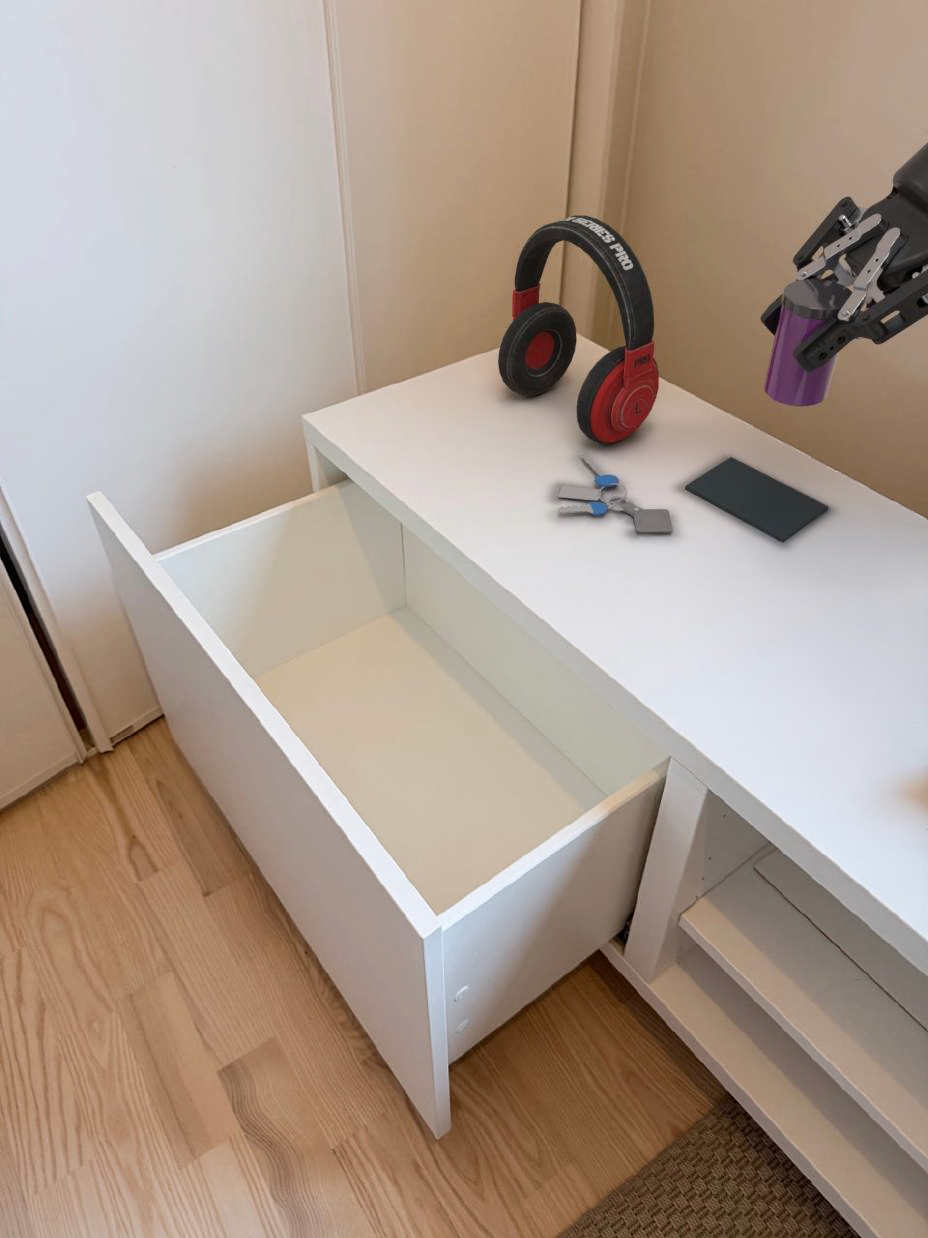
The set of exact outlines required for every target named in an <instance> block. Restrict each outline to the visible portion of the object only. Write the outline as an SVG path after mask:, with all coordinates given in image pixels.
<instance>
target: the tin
mask: <svg viewBox="0 0 928 1238" xmlns="http://www.w3.org/2000/svg"><path fill="white" fill-rule="evenodd" d="M782 293H783V295H782V306H781V311H780V315H779V320H778V324H777V329H776V334H775V336H774V337H773V338H774V339H773V342H772V347H771V352H770V357H769V362H768V366H767V370H766V375H765V380H764V385H763V390H764V392H765V394H766V395H767V397H769V398H770V399H772V400H773V401H775V402H776V403H777V402H778V403H780V404H782V405H787V406H791V407H811V406H815V405H818V404H820V403H822V402H823V401H824V400H825V399H826V398H827V396H828V393H829V389H830V386H831V382H832V378H833V375H834V371H835V367H836V364H837V360H838V356H839V352H838V353H837V354H836V355H834V356H833V357H832V358H831V359H829V361H828V362H827V363H825V364H824V365H823V366H821V367H819V368H817V369H815V370H814V371H811V372H807V371H806V370H805V369H804V368H803V367H802V366H801V365H800V364H799V363H798V362H797V360H796V359H795V358H794V357H793V351H794V350H795V349H796V348H797V347H798V346H799V345H800V344H801V343H802V342H803V341H804V340H806V339H807V338H808V337H809V336H810V335H811V334H812V333H813V332H814V331H816V330H817V329H818V328H819V327H820V326H821V325H822V324H823V323H825V322H826V321H827V320H828V319H829V318H831V317H832V316H833V317H834V318H835V319H836V320H837V319H838V313H839V311H840V310H841V308H842V307H843V305H844V304H845V303H846V301H847V300H848V298H849V297H850V296H851V294H852V293H853V291H852V289H850V288H849V287H848V286H847V287H845V286H843V285H841V284H839V283H836V282H832V281H827V280H821V279H804V280H798V281H796V280H794V281H791V282H790V283H788V284H787V285H785V287H784V288H783V291H782Z"/></svg>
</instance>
